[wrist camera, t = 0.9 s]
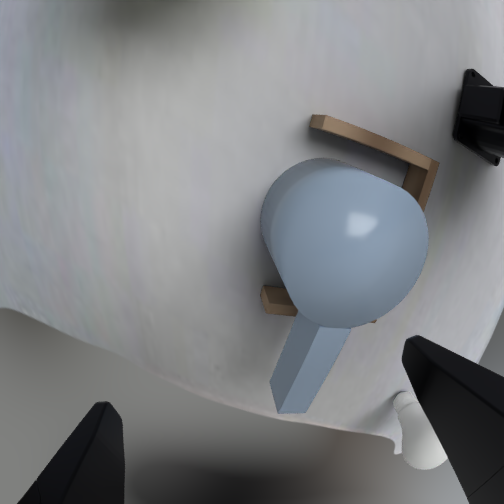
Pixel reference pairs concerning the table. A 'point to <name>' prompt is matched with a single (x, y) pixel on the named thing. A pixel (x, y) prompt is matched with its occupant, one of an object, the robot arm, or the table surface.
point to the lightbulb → (417, 434)
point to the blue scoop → (336, 263)
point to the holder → (414, 183)
